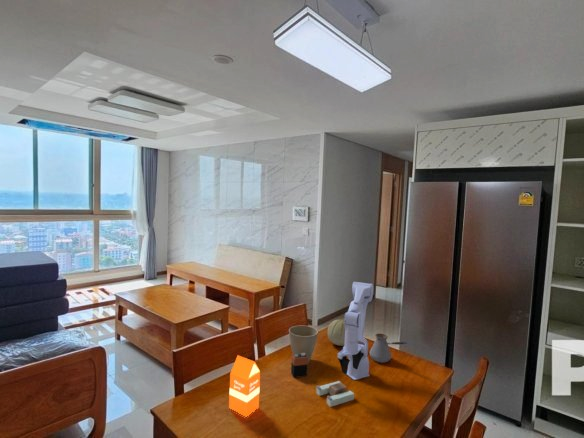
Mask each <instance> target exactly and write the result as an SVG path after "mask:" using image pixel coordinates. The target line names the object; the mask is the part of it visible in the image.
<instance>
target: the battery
mask: <svg viewBox="0 0 584 438" xmlns="http://www.w3.org/2000/svg"><path fill="white" fill-rule="evenodd" d="M308 364H309V363H308V357H307V356H306V354H305V353H301V354H294V355H293V354H292V355H291V367H290V374H291V375H292V377H293V378H300V377H306V376H308Z"/></svg>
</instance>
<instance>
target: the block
mask: <svg viewBox="0 0 584 438" xmlns="http://www.w3.org/2000/svg"><path fill="white" fill-rule="evenodd" d="M343 392H347V386H346V385H345V384H343V383H342V382H341V381H340V383H337V384H334V385H330V387H329V393H328V396H333V395H337V394H340V393H343Z"/></svg>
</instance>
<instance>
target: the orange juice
mask: <svg viewBox="0 0 584 438" xmlns="http://www.w3.org/2000/svg"><path fill="white" fill-rule="evenodd" d="M259 368H260V367H258V365H257V363H256V362H255V361H254V360H251V359H248V358H246V357H243V356H241V355H239V354H237V356H236V358H235V361H234V364H233V365H232V368H231V371H230V373H229V393H228V395H229V398H228V409H229V408H230V409H232V410H234V411H236V412H238V413H239V414H241V415H243V416H245V417H247V416H248V417H249V415H250V414H251V413H252V412H253V413H255V410H256V409H257V410H258V409H259V407H260V406H259V405H260V391H261V390H260V389H261V387H260V386H261V382H260V381H261V371H260V369H259ZM257 410H256V411H257ZM253 413H252V414H253ZM239 414H238V415H239ZM252 414H251V415H252ZM241 415H240V416H241ZM251 415H250V416H251ZM243 416H242V417H243ZM245 417H244V418H245ZM248 417H247V418H248Z"/></svg>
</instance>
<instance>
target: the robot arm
mask: <svg viewBox="0 0 584 438" xmlns="http://www.w3.org/2000/svg"><path fill="white" fill-rule="evenodd" d="M351 292H352V297H353V300H352V301H351V302H350V304H349V306H348V307H349V308H348V309H347V311H346V312H345V313H344V318H343V319H344V324H345V346H342V349H341V350H340V351H339V352H338V353H337V360H338V362H339V364H340V367H341V368H340V369H341V372H342V373H343V374H344V375H347V376H348V377H350V378H351V379H352V380H354V381H356V380H360V379H365V378H368V377H370V373H369V370H370V369H369V368H370V361H369V357H368V352H369V341H368V340H367V339H366V338H365V337H364V332H365V331H364V330H365V324H366V315H367V307H368V304H369V303H370V302H372V300H373V298H374V297H373V296H374V284H373V283H367V282H358V281H353V282H352V287H351Z"/></svg>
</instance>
